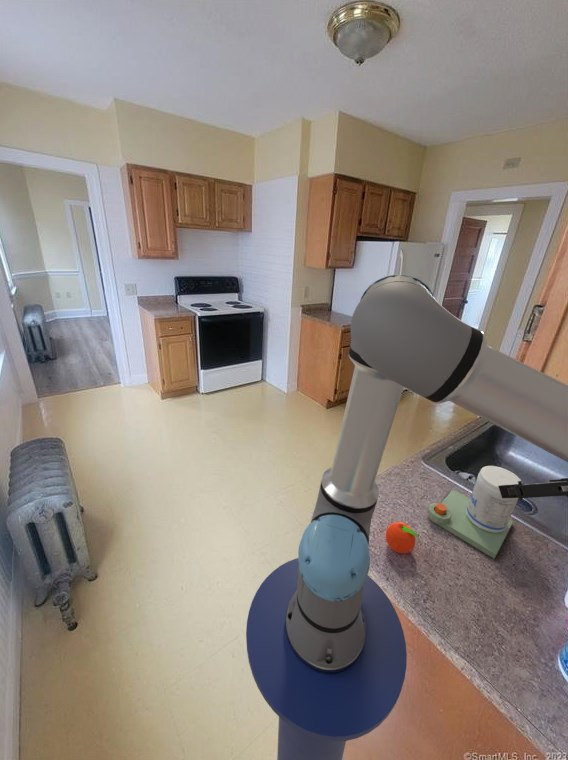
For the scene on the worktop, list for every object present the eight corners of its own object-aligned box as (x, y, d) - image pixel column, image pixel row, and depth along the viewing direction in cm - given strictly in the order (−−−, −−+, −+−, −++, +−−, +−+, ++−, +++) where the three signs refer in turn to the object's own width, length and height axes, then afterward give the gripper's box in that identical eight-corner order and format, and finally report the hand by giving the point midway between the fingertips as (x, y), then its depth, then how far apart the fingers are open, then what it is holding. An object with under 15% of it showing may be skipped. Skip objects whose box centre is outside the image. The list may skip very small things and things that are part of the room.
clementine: (419, 545, 81) (424, 524, 78) (414, 567, 76) (420, 545, 73) (387, 531, 85) (391, 511, 82) (380, 551, 79) (385, 530, 76)
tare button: (433, 511, 87) (434, 506, 87) (437, 506, 89) (438, 501, 88) (442, 517, 86) (444, 512, 85) (446, 511, 87) (448, 507, 87)
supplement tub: (461, 503, 92) (474, 461, 86) (497, 509, 90) (514, 467, 84) (471, 530, 83) (486, 486, 78) (511, 538, 82) (531, 493, 76)
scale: (423, 519, 89) (425, 509, 87) (447, 491, 99) (449, 482, 97) (492, 562, 77) (497, 552, 76) (511, 525, 87) (515, 515, 86)
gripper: (580, 514, 51) (484, 512, 70) (703, 499, 55) (580, 500, 74) (561, 466, 53) (474, 476, 73) (679, 454, 57) (566, 467, 77)
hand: (527, 488), depth 73 cm, fingers open, 13 cm apart
